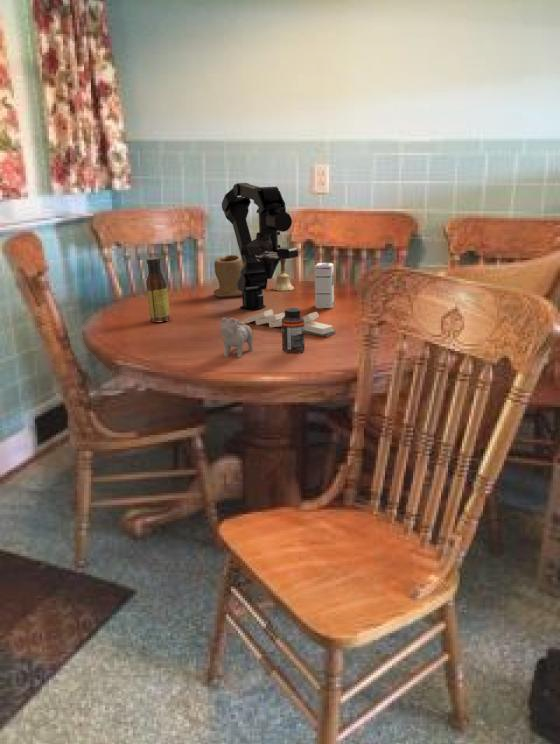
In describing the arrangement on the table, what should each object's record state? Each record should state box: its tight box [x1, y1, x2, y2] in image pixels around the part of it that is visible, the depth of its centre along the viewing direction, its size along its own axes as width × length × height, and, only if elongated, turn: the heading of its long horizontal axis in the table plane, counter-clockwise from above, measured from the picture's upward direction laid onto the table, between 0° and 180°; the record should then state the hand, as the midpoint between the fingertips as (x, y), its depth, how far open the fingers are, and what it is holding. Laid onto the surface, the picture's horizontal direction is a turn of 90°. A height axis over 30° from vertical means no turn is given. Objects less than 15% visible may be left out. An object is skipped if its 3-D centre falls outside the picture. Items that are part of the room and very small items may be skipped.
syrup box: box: [314, 262, 335, 309], centre depth 222 cm, size 6×6×14 cm
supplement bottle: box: [281, 307, 305, 354], centre depth 173 cm, size 6×6×11 cm
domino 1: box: [244, 309, 275, 324], centre depth 203 cm, size 2×4×8 cm
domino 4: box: [302, 311, 320, 324], centre depth 194 cm, size 2×4×8 cm
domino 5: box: [304, 320, 334, 334], centre depth 190 cm, size 2×4×8 cm
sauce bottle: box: [145, 257, 171, 322], centre depth 206 cm, size 7×6×20 cm
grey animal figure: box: [219, 317, 253, 358], centre depth 171 cm, size 5×13×11 cm, turn 158°
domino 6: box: [304, 329, 336, 338], centre depth 191 cm, size 2×4×8 cm
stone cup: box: [213, 254, 243, 298], centre depth 242 cm, size 15×12×15 cm
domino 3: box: [268, 319, 282, 328], centre depth 198 cm, size 2×4×8 cm
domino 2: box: [255, 311, 285, 326], centre depth 201 cm, size 2×4×8 cm
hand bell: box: [272, 246, 295, 292], centre depth 252 cm, size 8×8×16 cm
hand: (269, 278), depth 210 cm, fingers closed
